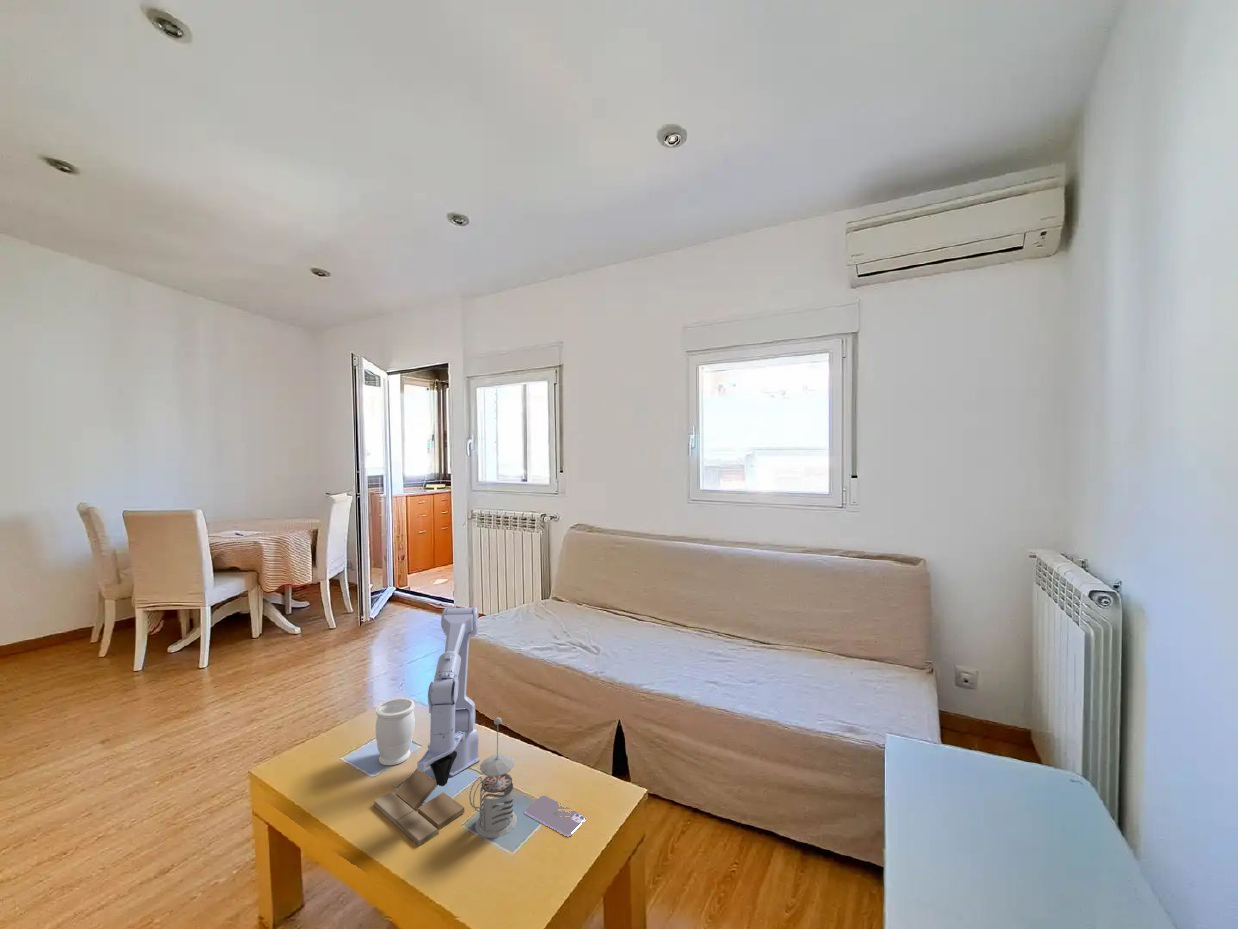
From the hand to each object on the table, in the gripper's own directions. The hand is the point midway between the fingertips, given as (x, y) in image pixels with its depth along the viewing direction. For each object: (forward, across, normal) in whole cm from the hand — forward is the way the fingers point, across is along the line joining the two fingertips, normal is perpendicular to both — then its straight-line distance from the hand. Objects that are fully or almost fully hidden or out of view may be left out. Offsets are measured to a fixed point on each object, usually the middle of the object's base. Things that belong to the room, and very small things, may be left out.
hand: (441, 784), depth 118 cm
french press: (+7, -2, +14) cm, 16 cm away
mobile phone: (+8, -10, +26) cm, 29 cm away
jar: (+7, -13, -28) cm, 32 cm away
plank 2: (+7, 0, 0) cm, 7 cm away
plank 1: (+5, -2, -10) cm, 11 cm away
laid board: (+7, +5, -7) cm, 11 cm away
